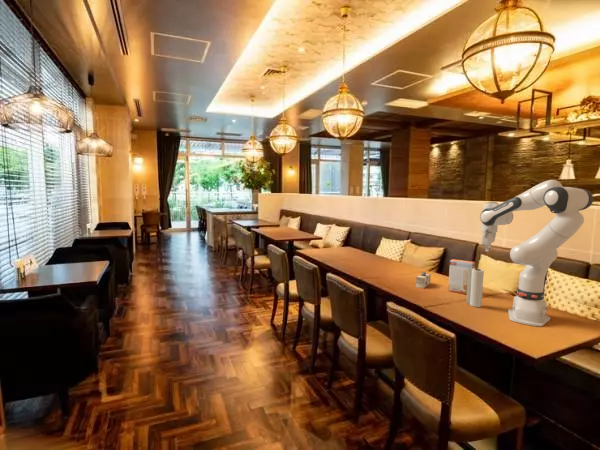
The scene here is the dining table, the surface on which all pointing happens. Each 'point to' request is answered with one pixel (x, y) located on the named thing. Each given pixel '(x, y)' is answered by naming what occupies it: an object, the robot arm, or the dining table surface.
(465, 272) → the cracker box
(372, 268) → the dining table surface
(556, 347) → the dining table surface
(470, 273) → the paper towel roll
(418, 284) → the stop block
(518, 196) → the robot arm
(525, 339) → the dining table surface
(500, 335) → the dining table surface
